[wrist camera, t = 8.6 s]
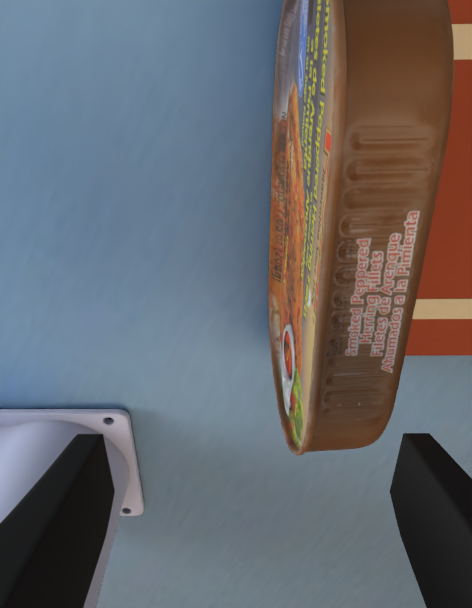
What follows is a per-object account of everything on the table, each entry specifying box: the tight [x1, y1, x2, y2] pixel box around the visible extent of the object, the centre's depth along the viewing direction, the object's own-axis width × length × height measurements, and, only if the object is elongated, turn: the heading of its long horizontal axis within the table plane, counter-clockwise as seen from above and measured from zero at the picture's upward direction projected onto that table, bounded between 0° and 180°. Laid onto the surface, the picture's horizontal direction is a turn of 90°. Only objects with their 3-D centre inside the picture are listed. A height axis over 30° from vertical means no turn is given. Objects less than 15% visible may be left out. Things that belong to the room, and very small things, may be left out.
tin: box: [268, 0, 454, 455], centre depth 14 cm, size 15×3×8 cm, turn 1°
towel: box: [405, 0, 472, 355], centre depth 17 cm, size 7×15×1 cm, turn 1°
